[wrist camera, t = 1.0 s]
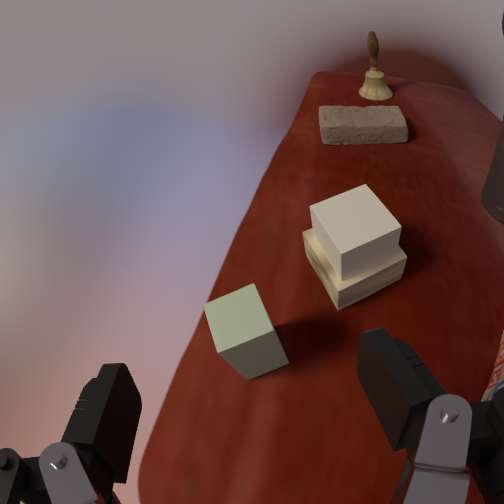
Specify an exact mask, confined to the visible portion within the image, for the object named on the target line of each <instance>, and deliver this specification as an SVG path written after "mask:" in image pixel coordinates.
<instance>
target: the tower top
mask: <svg viewBox="0 0 504 504" xmlns="http://www.w3.org/2000/svg"><path fill="white" fill-rule="evenodd" d="M310 212H311V219H312V226H313V233H314V237H315V238H316V240H317V242H318V243H319V245H320V247H321V248H322V250H323V252H324V253H325V255H326V257H327V258H328V260H329V262H330V263H331V265H332V267H333V268H334V270H335V272H336V274H337V275H338V277H339V279H340V280H341V282H342V281H344V280H346V279H348V278H351V277H353V276H355V275H357V274H359V273H361V272H363V271H366V270H368V269H370V268H372V267H374V266H376V265H378V264H380V263H382V262H384V261H386V260H388V259H391V258H393V257H395V256H396V252H397V247H398V243H399V238H400V233H401V227H402V226H401V225H400V224H399V223H398V221H397V220H396V219H395V218H394V217H393V215H392V214H391V213H390V212H389V211H388V209H387V208H386V207H385V206H384V205H383V204H382V202H381V201H380V200H379V199H378V198H377V197H376V196H375V194H374V193H373V192H372V191H371V190H370V189H369V188H368V187H367V185H366V184H365V185H362V186H359V187H357V188H354V189H352V190H349V191H347V192H344V193H342V194H339V195H337V196H334V197H332V198H329V199H327V200H324V201H321V202H319V203H316V204H314V205H311V206H310Z"/></svg>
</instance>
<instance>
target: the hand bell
mask: <svg viewBox="0 0 504 504" xmlns="http://www.w3.org/2000/svg"><path fill="white" fill-rule="evenodd" d="M367 46H368V51H369V53H370V57H371V70H370V71H368V72H366V75H365V83H364V85H363V87H362V88H361V89H360V90H359V94H360V95H361V96H362V97H363V98H366V99H369V100H375V101H383V100H388V99H390V98H392V96H393V93H392V91H391V90H390V89H389V88H388V86H387V84H386V81H385V76H384V74H383V73H382V72H380V71H378V62H377V55H378V51H379V44H378V39H377V37H376V35H375V32H372V31H370V32H369V36H368V39H367Z"/></svg>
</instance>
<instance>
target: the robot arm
mask: <svg viewBox="0 0 504 504" xmlns="http://www.w3.org/2000/svg"><path fill="white" fill-rule="evenodd" d="M502 29H503V35H504V13H503V20H502ZM481 196H482V201H483V204H484V206H485V207H486V209H487V210H488V211H489V213H490V214H491V215H492V216H493V217H495V218H496V219H497V220H499V221H501V222H502V223H504V116H503V121H502V125H501V129H500V133H499V137H498V141H497V145H496V149H495V152H494V156H493V159H492V163H491V166H490V169H489V172H488V175H487V178H486V181H485V184H484V187H483V190H482V195H481ZM357 373H358V378H359V381H360V383H361V385H362V387H363V389H364V391H365V393H366V395H367V397H368V399H369V401H370V403H371V405H372V407H373V409H374V411H375V413H376V415H377V417H378V420H379V422H380V424H381V426H382V428H383V430H384V432H385V434H386V436H387V438H388V440H389V442H390V445H391V447H392V449H393V451H397V450H400V449H403V448H405V449H406V451H407V453H408V455H407V457H406V460H405V463H404V466H403V469H402V472H401V475H400V478H399V480H398V483H397V486H396V488H395V491H394V494H393V496H392V499H391V501H390V503H389V504H465V500H466V496H467V491H468V486H469V481H470V474H469V472H466V471H465V465H466V464H467V465H468V467H469V469H470V471H471V473H472V476H473V478H474V480H475V482H476V484H477V486H478V488H479V490H480V492H481V494H482V496H483V499H484V501H485V503H486V504H504V387H502V388H500V389H499V390H497V392H496V393H495V395H494V397H493V399H492V400H489V401H483V402H477V403H468V402H467V401H466V400H465V399H463V398H462V397H460V396H457V395H452V394H447V393H446V392H445V391H444V389H443V388H442V387H441V385H440V384H439V383H438V381H437V380H436V379H435V377H434V376H433V375H432V373H431V372H430V371H429V369H428V368H427V367H426V365H424V363H423V361H422V360H421V359H420V357H418V355H417V354H416V352H415V351H414V350H413V348H412V347H411V346H410V345H409V344H407V343H406V342H404V341H402V340H401V339H399V338H397V339H393V340H392V338H391V337H390V336H389V334H388V333H387V332H386V330H385V329H384V328H382V327H381V328H377V329H373V330H368V331H364V332H361V334H360V339H359V350H358V360H357ZM141 410H142V402H141V396H140V393H139V391H138V389H137V387H136V385H135V383H134V381H133V378H132V376H131V374H130V372H129V370H128V367H127V366H126V365H125V364H124V363H113V364H103V365H102V367H101V369H100V372H99V374H98V376H97V378H92V379H91V380H90V381H89V382H88V383H87V384H86V385H85V387H84V388H83V390H82V392H81V394H80V397H79V401H77V404H76V406H75V410H73V413H72V415H71V417H70V420H69V422H68V425H67V428H66V430H65V432H64V435H63V437H62V440H61V442H57V443H54V444H51V445H49V446H48V447H46V448H45V449H44V451H43V452H42V453H41V455H40V456H39V457H31V458H21V457H20V456H19V455H18V454H17V453H16V452H15V451H14V450H12V449H10V448H4V449H1V450H0V504H20V501H22V502H23V503H24V504H121V503H120V501H119V499H118V498H117V496H116V494H115V493H114V492H113V490H112V489H113V484H114V483H123V484H125V483H126V480H127V475H128V470H129V465H130V460H131V455H132V450H133V445H134V440H135V436H136V431H137V427H138V423H139V418H140V414H141Z"/></svg>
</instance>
